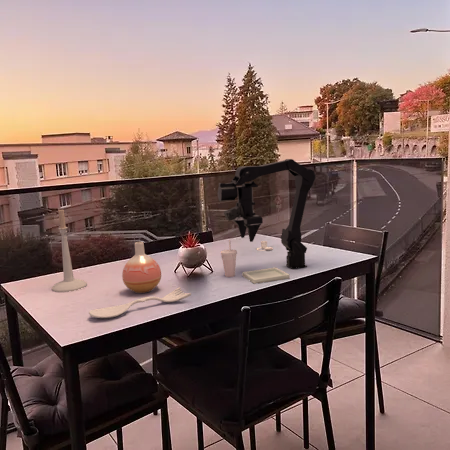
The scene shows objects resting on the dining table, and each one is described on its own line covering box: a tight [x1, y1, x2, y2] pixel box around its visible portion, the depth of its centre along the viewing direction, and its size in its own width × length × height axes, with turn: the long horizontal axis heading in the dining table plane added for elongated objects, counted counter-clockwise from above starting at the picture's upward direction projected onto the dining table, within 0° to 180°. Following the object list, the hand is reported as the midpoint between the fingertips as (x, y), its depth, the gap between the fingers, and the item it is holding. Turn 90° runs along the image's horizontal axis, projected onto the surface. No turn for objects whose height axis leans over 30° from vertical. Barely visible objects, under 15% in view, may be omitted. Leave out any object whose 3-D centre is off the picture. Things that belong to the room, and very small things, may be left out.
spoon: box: [88, 287, 192, 319], centre depth 146 cm, size 9×32×3 cm, turn 121°
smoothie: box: [220, 239, 238, 278], centre depth 178 cm, size 6×6×14 cm
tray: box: [241, 267, 291, 285], centre depth 174 cm, size 14×12×2 cm
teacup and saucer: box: [256, 240, 274, 252], centre depth 222 cm, size 9×8×4 cm
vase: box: [121, 241, 162, 294], centre depth 164 cm, size 14×14×18 cm
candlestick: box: [51, 209, 88, 293], centre depth 174 cm, size 13×13×30 cm
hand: (247, 239), depth 179 cm, fingers open, 9 cm apart
